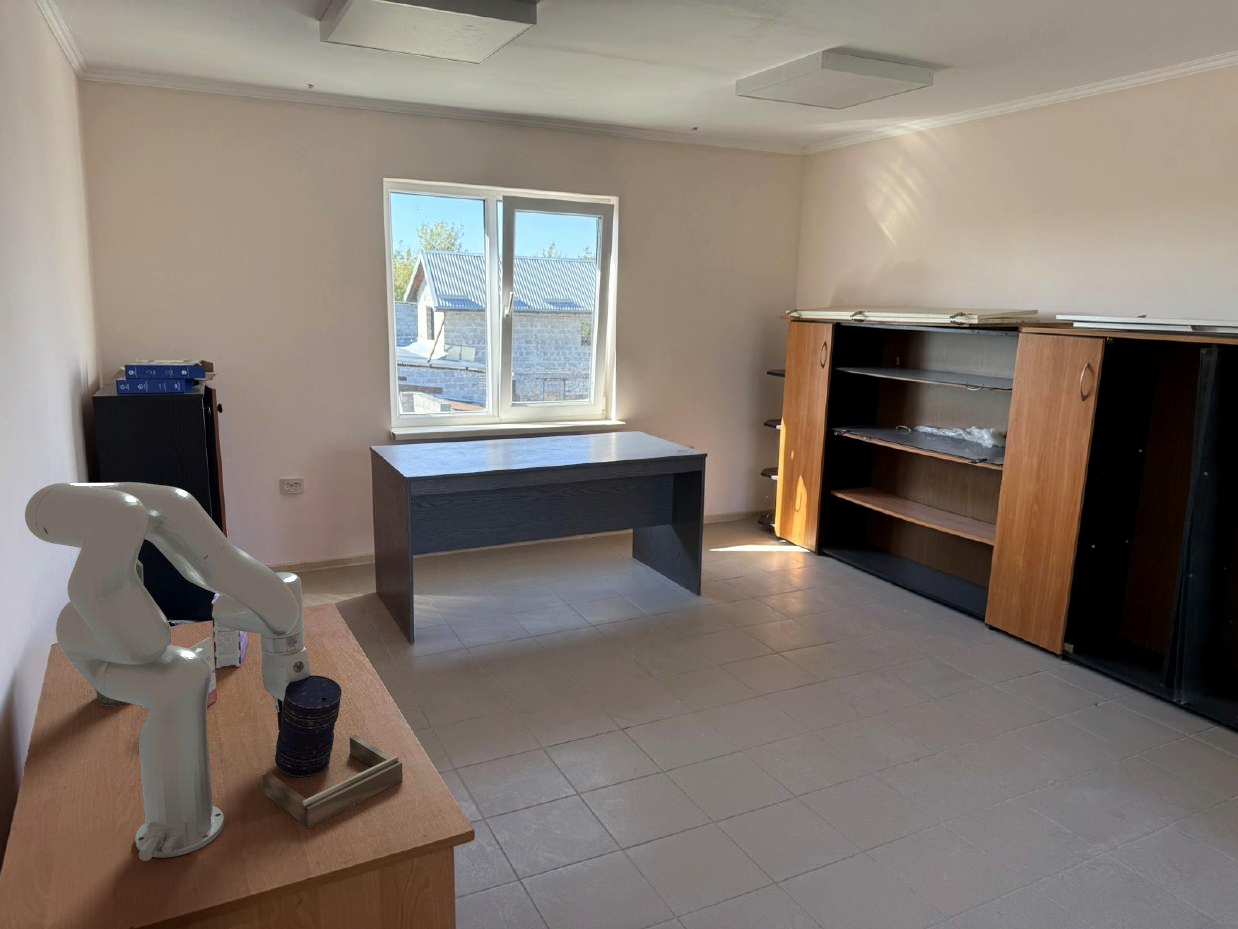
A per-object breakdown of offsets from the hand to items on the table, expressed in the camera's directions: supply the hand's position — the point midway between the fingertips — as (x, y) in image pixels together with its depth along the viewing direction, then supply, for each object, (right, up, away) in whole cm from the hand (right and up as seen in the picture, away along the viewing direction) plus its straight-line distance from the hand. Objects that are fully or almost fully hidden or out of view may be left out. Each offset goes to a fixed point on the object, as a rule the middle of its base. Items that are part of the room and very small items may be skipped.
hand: (288, 729), depth 155 cm
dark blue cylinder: (+4, -5, -3) cm, 7 cm away
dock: (+12, -7, -9) cm, 17 cm away
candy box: (-30, +4, +41) cm, 51 cm away
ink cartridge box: (-26, -1, +16) cm, 31 cm away
